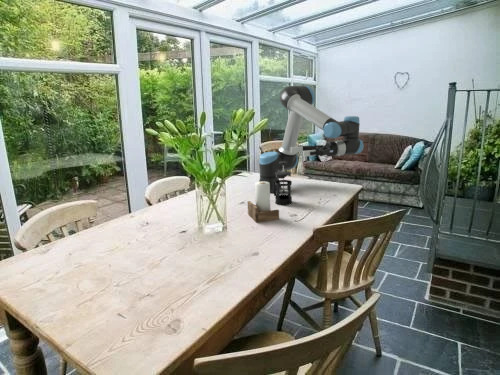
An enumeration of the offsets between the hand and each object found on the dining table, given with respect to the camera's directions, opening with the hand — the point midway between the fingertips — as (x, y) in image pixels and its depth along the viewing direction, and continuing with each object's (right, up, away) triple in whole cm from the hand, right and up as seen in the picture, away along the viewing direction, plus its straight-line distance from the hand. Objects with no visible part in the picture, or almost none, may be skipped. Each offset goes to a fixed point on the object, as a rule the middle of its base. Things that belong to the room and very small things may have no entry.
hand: (296, 151), depth 166 cm
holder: (-17, -32, -1) cm, 36 cm away
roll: (-17, -31, -1) cm, 35 cm away
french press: (-5, -26, +20) cm, 33 cm away
